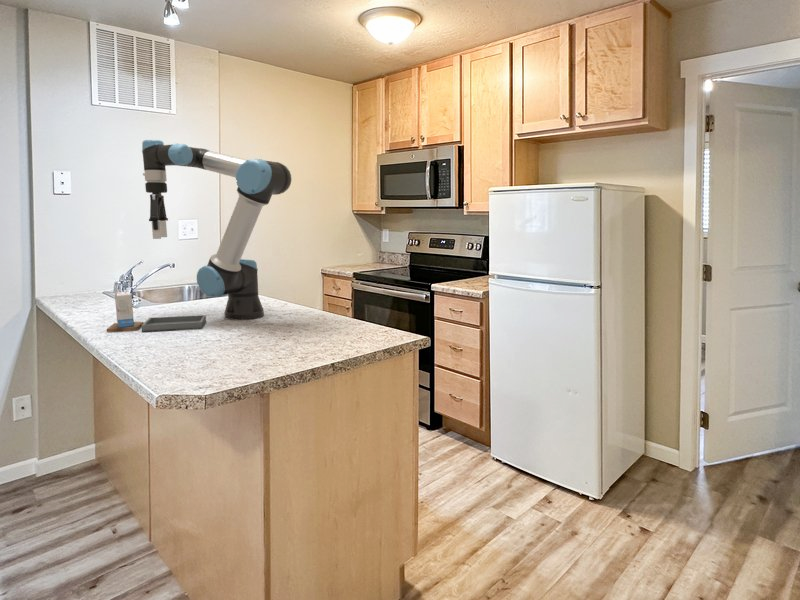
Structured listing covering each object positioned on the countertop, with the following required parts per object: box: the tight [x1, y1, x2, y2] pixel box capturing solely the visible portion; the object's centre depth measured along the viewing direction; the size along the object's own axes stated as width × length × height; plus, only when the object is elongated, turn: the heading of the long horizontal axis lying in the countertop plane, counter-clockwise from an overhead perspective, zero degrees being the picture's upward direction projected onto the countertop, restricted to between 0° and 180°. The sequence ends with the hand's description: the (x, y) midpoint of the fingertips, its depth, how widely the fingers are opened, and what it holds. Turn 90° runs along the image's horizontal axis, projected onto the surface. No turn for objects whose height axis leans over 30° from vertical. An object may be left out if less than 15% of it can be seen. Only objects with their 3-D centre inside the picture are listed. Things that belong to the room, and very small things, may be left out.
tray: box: [140, 314, 207, 333], centre depth 194 cm, size 20×14×2 cm
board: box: [106, 321, 145, 333], centre depth 192 cm, size 10×10×1 cm
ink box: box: [113, 284, 135, 328], centre depth 191 cm, size 8×5×15 cm, turn 33°
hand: (160, 238), depth 206 cm, fingers open, 13 cm apart
